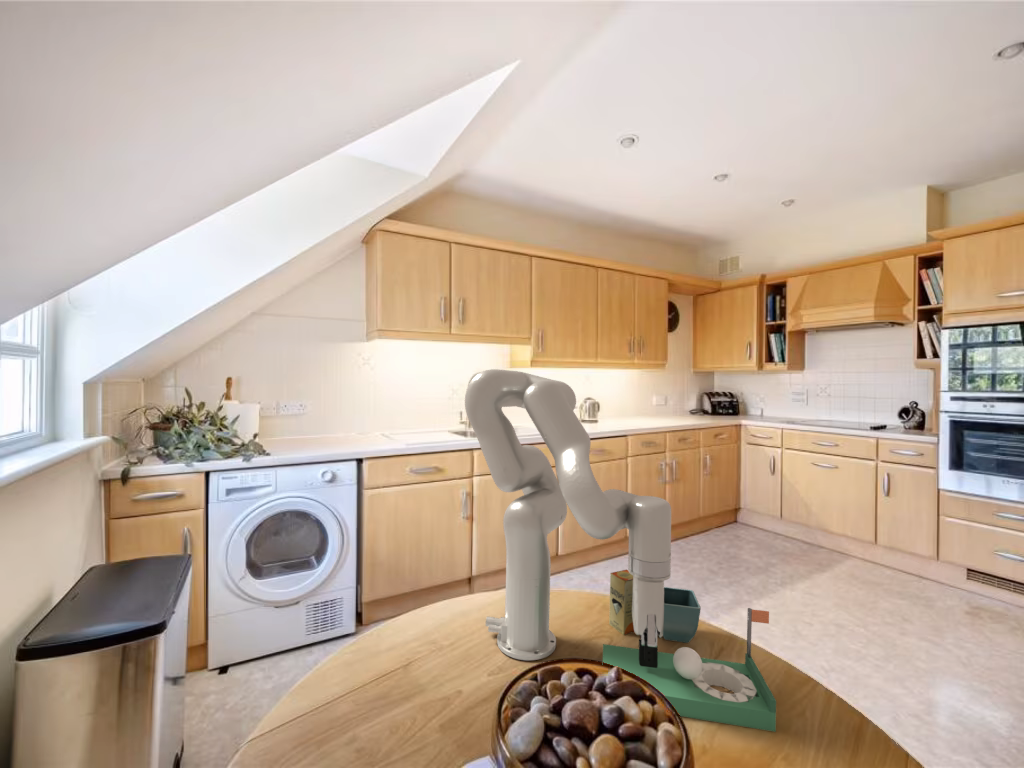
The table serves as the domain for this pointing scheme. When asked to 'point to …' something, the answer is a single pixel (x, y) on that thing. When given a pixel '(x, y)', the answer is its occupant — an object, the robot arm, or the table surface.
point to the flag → (754, 617)
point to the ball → (687, 663)
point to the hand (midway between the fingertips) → (648, 664)
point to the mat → (706, 688)
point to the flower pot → (680, 614)
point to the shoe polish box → (621, 601)
